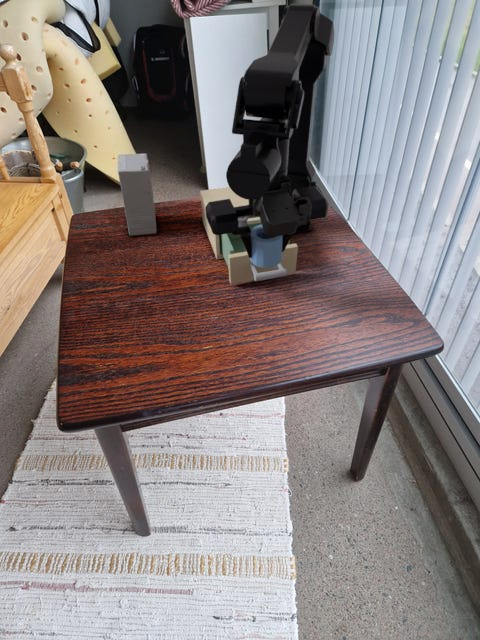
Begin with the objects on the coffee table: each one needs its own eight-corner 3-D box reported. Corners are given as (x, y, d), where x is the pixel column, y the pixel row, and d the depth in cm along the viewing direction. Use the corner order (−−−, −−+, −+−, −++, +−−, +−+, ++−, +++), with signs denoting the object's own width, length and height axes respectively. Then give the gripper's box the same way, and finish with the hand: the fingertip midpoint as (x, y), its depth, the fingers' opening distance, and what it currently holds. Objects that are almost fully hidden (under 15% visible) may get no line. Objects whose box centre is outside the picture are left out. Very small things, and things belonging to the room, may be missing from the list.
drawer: (304, 287, 81) (307, 260, 76) (236, 299, 78) (235, 273, 74) (273, 234, 94) (274, 209, 90) (214, 244, 92) (213, 218, 87)
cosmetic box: (128, 218, 102) (114, 154, 91) (158, 215, 103) (147, 150, 92) (128, 237, 96) (113, 170, 85) (160, 234, 97) (148, 167, 86)
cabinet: (282, 248, 92) (284, 215, 86) (216, 259, 89) (214, 226, 84) (261, 213, 103) (262, 182, 97) (202, 222, 100) (199, 190, 94)
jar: (275, 247, 75) (276, 221, 72) (285, 265, 72) (287, 239, 68) (246, 252, 74) (246, 226, 71) (255, 270, 71) (255, 244, 67)
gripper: (217, 202, 54) (223, 293, 65) (351, 181, 57) (335, 272, 68) (201, 165, 62) (208, 252, 73) (319, 149, 65) (309, 235, 76)
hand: (265, 253), depth 72 cm, fingers closed on jar, 5 cm apart
